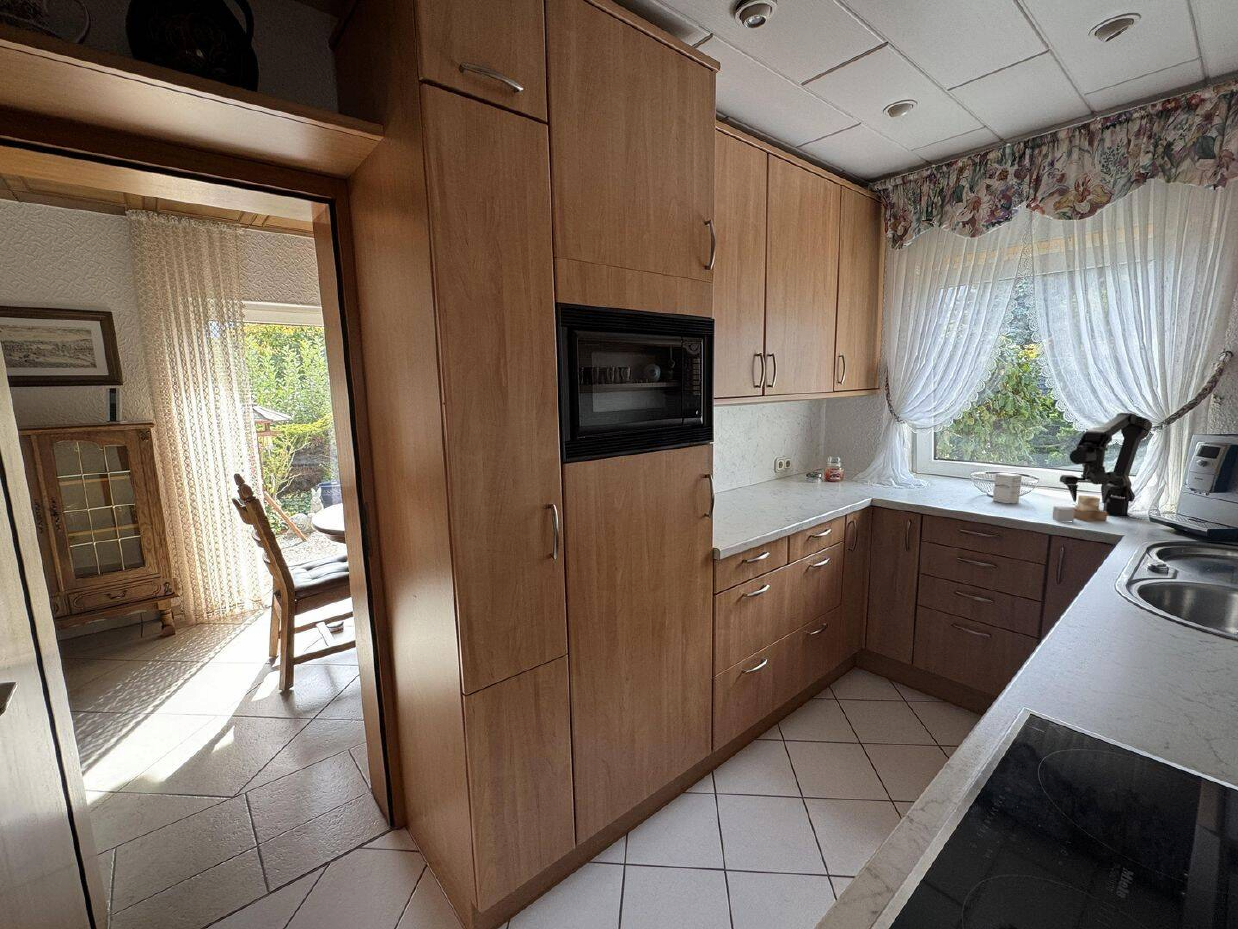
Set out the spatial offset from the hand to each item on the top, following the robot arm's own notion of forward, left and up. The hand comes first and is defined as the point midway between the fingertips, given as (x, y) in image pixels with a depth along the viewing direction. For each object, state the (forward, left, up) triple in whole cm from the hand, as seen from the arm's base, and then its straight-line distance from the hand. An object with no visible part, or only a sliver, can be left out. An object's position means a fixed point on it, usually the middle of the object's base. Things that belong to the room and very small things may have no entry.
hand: (1088, 502), depth 217 cm
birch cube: (0, 0, -3) cm, 3 cm away
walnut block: (0, 0, -7) cm, 7 cm away
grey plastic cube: (+10, +6, -7) cm, 13 cm away
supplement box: (+20, -26, -7) cm, 33 cm away
